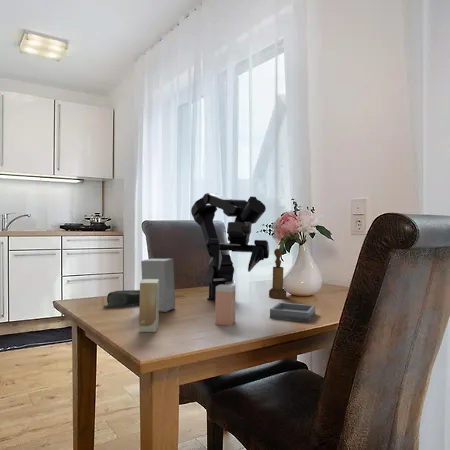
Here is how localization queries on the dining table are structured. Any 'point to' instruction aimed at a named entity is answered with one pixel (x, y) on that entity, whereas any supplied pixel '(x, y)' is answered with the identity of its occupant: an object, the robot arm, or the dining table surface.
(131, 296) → the black stapler
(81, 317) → the dining table surface
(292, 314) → the tray
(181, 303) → the dining table surface
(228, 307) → the grey-topped peach block
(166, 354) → the dining table surface
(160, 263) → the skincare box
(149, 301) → the skincare box
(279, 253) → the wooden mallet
